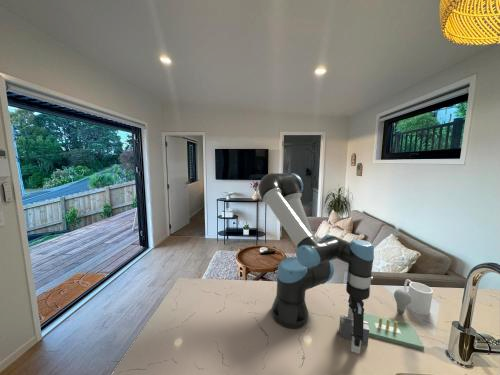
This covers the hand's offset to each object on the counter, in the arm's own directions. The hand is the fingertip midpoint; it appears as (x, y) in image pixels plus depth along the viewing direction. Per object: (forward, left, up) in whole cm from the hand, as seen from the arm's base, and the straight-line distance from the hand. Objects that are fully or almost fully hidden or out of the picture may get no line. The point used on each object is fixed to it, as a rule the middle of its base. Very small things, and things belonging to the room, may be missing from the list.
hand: (352, 336), depth 79 cm
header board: (+13, +8, 0) cm, 15 cm away
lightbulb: (+21, +21, 0) cm, 30 cm away
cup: (+29, +30, 0) cm, 42 cm away
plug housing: (0, 0, 0) cm, 0 cm away
